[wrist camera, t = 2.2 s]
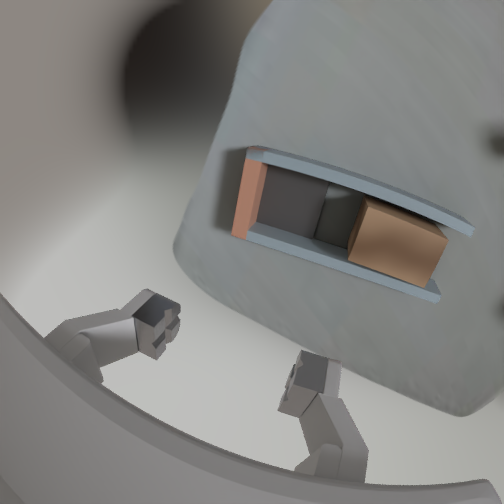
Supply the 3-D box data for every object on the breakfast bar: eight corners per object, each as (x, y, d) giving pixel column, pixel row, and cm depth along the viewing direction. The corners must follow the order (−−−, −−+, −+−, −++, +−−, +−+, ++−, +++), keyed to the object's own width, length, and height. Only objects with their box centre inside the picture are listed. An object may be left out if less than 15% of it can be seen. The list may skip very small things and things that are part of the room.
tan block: (364, 194, 24) (368, 206, 20) (434, 223, 23) (448, 240, 19) (347, 240, 26) (347, 260, 23) (414, 265, 25) (424, 288, 21)
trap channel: (257, 145, 25) (247, 147, 23) (463, 217, 21) (475, 227, 18) (241, 225, 29) (231, 235, 27) (430, 288, 25) (436, 303, 22)
